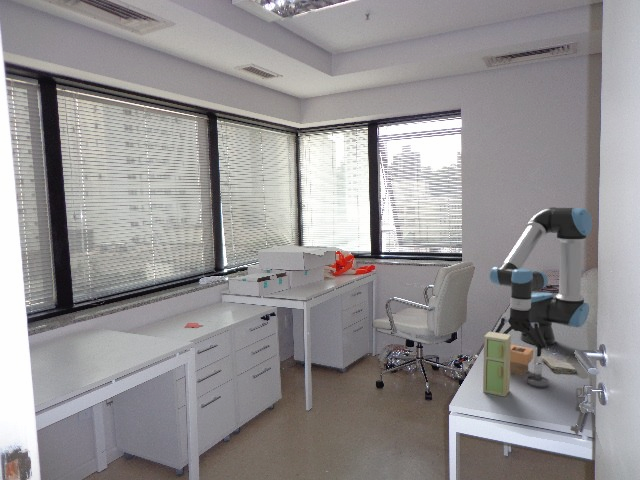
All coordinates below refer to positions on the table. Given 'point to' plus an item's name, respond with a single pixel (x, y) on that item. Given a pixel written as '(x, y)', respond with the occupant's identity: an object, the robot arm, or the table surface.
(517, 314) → the robot arm
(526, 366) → the stand
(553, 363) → the stone
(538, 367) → the hub
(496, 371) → the toy refrigerator
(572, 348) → the table surface
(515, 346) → the slotted orange block
